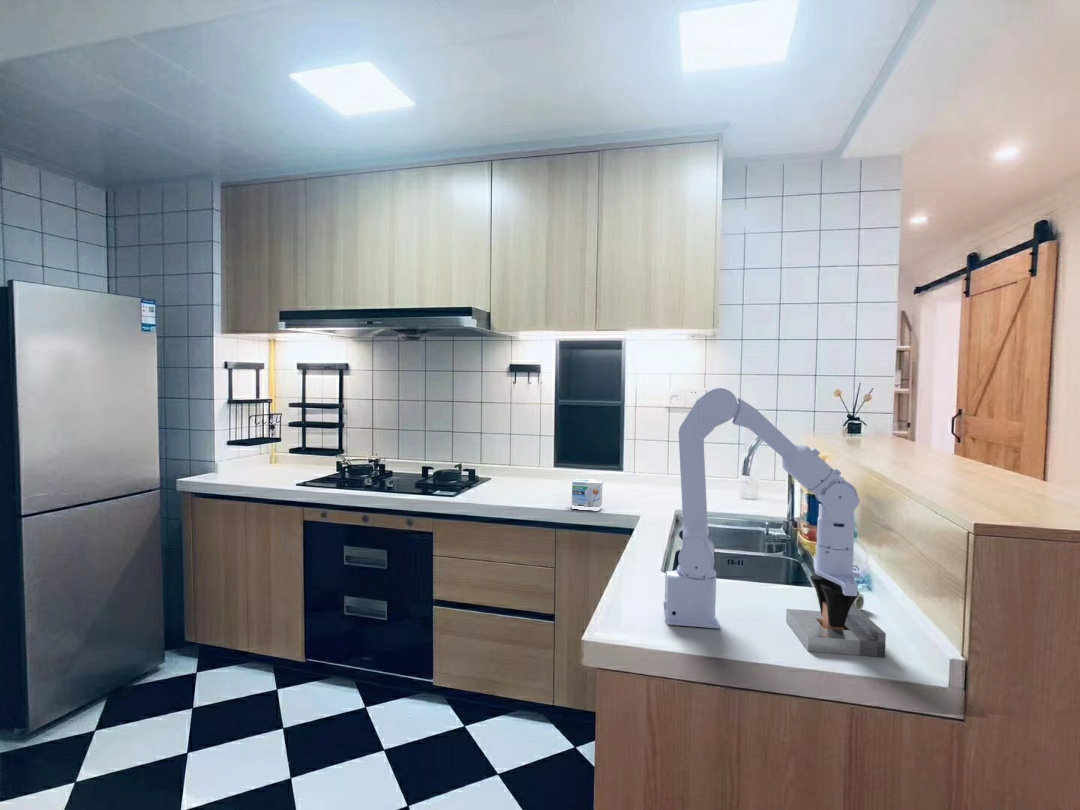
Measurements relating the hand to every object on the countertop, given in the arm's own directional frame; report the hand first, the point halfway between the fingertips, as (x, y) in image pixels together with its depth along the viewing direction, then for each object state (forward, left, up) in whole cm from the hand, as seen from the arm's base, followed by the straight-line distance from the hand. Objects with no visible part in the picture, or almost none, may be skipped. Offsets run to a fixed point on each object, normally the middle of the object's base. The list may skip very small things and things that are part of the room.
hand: (832, 622), depth 97 cm
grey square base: (0, 0, -3) cm, 3 cm away
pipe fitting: (+6, +16, -3) cm, 18 cm away
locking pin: (0, 0, -3) cm, 3 cm away
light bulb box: (-49, +100, -3) cm, 111 cm away
